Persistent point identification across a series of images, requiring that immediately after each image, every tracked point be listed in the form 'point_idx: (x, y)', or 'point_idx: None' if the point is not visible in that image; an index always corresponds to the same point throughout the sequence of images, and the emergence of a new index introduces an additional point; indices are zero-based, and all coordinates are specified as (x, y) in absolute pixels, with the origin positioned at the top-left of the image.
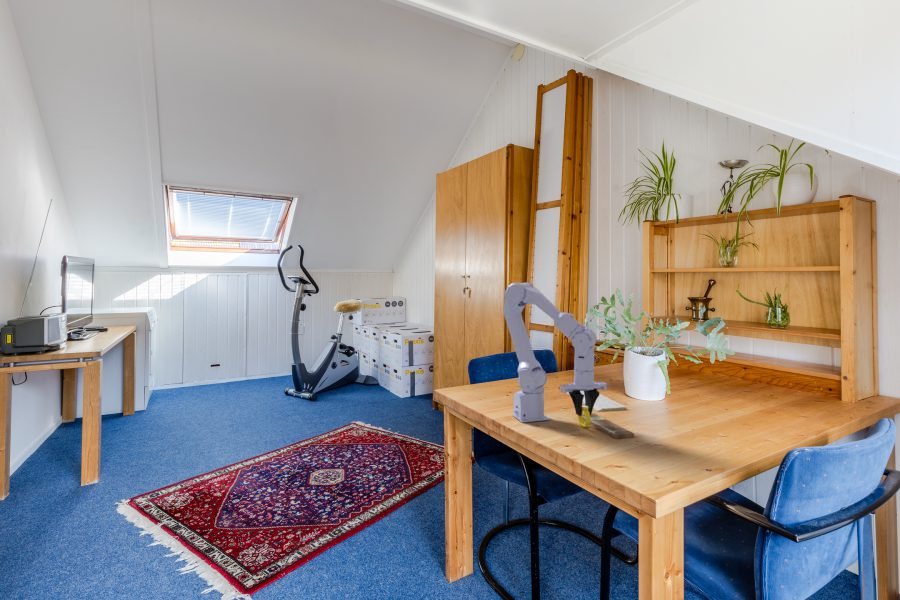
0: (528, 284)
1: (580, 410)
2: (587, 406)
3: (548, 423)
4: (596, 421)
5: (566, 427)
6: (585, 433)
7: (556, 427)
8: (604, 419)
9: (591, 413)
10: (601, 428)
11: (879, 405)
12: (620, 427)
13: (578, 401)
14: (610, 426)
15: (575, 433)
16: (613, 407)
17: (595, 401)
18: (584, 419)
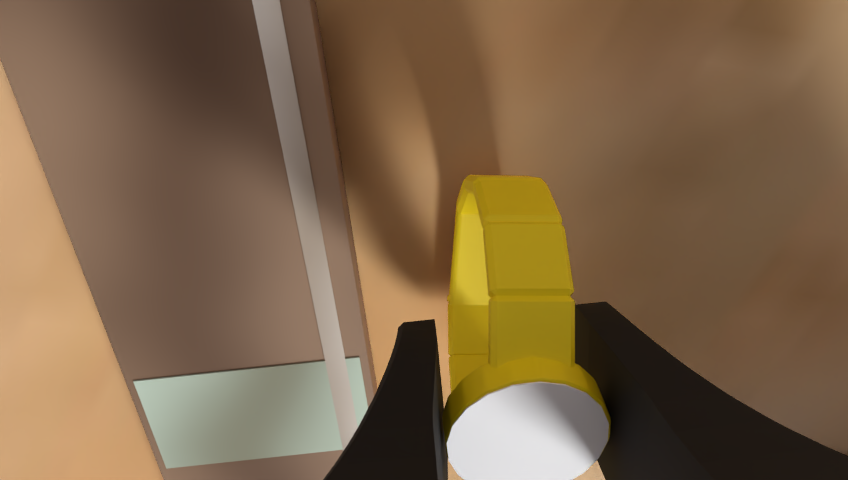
0: None
1: (637, 338)
2: (459, 440)
3: (784, 403)
4: (282, 328)
5: (682, 270)
6: (586, 29)
7: (788, 285)
8: (149, 378)
9: (398, 333)
10: (325, 87)
11: None
12: (26, 51)
13: (804, 439)
14: (168, 121)
15: (713, 53)
16: None
17: (330, 471)
18: None
